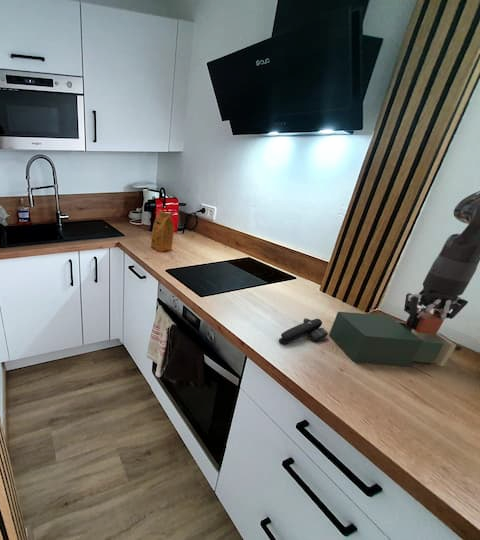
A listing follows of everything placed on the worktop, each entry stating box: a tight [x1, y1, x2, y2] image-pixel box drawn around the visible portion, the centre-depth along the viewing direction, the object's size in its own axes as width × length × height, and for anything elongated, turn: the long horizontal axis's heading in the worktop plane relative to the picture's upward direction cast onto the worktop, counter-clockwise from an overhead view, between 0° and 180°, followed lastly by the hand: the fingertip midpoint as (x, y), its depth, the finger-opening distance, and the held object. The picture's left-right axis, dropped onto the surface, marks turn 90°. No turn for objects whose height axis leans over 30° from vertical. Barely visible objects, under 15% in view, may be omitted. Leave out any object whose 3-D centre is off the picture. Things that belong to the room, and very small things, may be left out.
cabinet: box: [328, 311, 423, 368], centre depth 84 cm, size 15×13×9 cm
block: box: [405, 310, 445, 334], centre depth 81 cm, size 5×5×5 cm
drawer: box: [395, 320, 463, 367], centre depth 83 cm, size 18×11×7 cm, turn 84°
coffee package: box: [150, 209, 175, 253], centre depth 162 cm, size 10×12×22 cm
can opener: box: [278, 317, 329, 345], centre depth 89 cm, size 18×7×6 cm, turn 111°
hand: (420, 327), depth 81 cm, fingers closed on block, 4 cm apart
